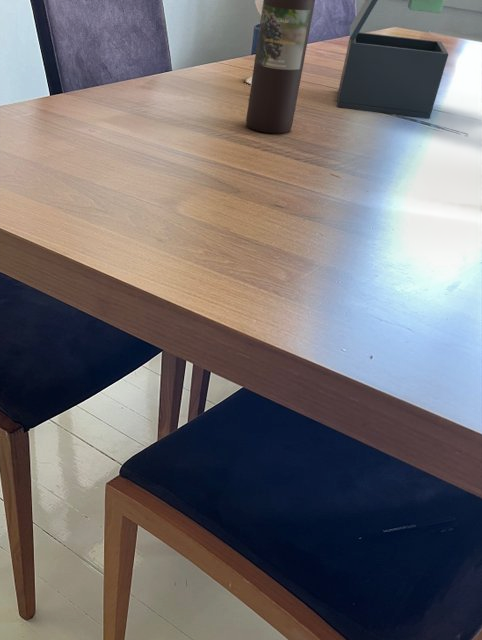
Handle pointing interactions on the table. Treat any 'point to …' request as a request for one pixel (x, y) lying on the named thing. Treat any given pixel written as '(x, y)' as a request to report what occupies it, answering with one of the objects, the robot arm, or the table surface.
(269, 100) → the wine bottle
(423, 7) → the mint toy cube
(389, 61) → the cool box
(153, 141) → the table surface
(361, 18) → the lid
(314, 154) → the table surface
